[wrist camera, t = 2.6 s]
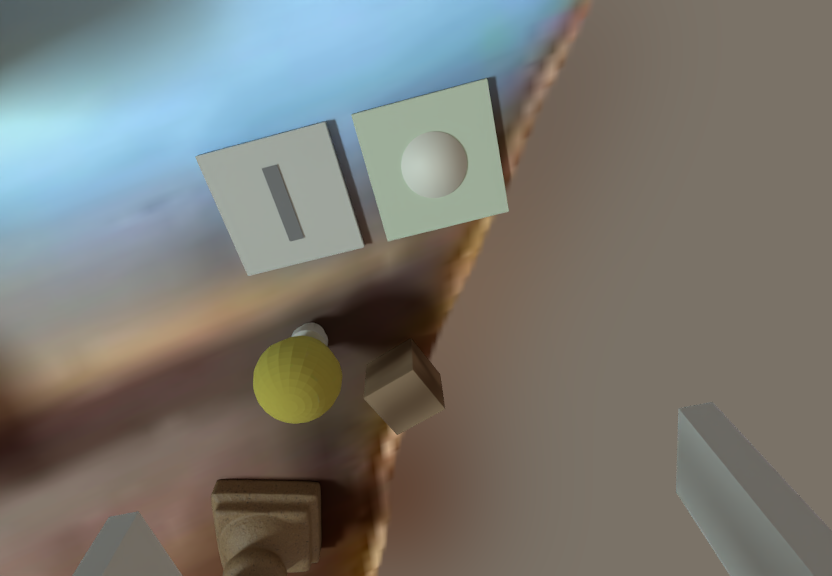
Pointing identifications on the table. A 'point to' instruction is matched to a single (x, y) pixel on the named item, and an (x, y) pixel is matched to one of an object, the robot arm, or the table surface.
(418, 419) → the walnut block
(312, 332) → the light bulb
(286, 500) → the candle holder
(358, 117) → the pad
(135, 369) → the table surface
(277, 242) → the pad
